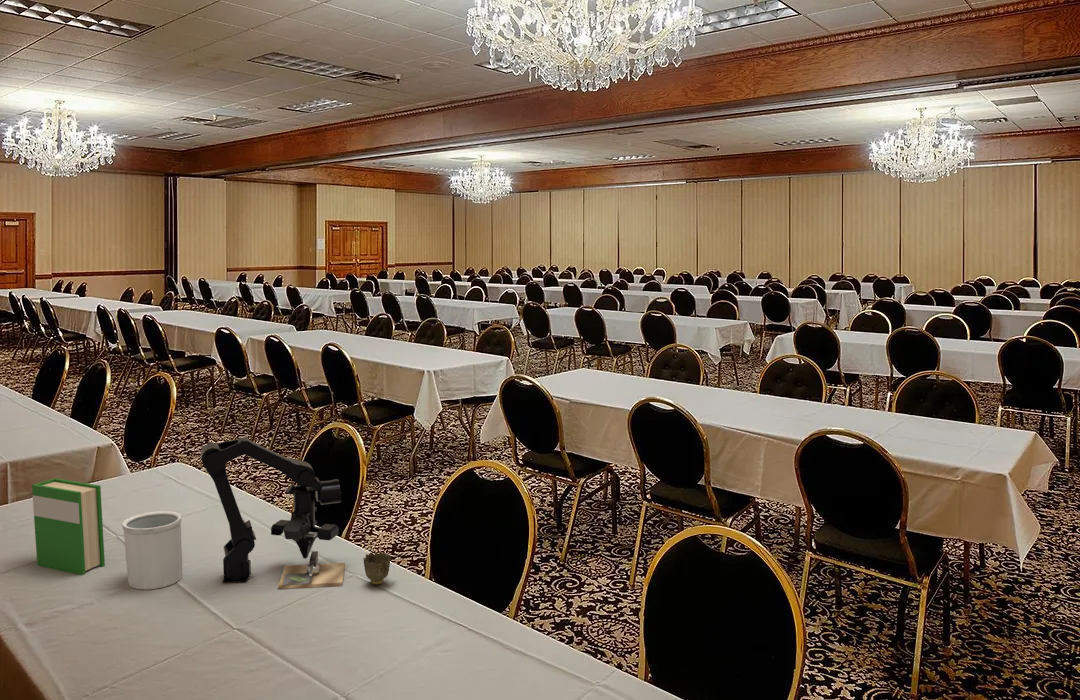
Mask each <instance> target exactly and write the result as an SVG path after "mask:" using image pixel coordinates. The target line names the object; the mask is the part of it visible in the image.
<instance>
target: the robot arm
mask: <svg viewBox="0 0 1080 700" xmlns="http://www.w3.org/2000/svg"><path fill="white" fill-rule="evenodd" d="M199 455H200V460H201V463H202V465H203V467H204V468H205V470H206V472H207V473H208V475H209V476H210V477H211V480H212V481H213V482H214V486H215V488H216V491H217V494H218V496H219V499H220V502H221V505H222V508H223V510H224V514H225V516H226V519H227V521H228V526H229V533H230V534H229V535H230V539H229V540H228V541H227V543H226V544H224V545H223V551H224V558H223V559H222V561H223V562H222V563H223V565H222V566H223V567H222V568H223V578H222V581H221V583H223V584H228V583H247V582H248V579H249V578H250V577H251V574H252V565H251V564H252V563H251V562H252V561H251V559H249V554H250V553H251V552H252V551H254V548H255V546H256V542H255V541H256V540H257V536H256V533H255V531H254V530H253V526H252V523H251V520H250V519H248V520H247V521H245V520H244V518H243V517H242V514H241V511H240V509H239V505H238V503H237V499H236V498H235V495H234V491H233V490H232V487H231V484H230V481H229V477H228V476H227V474H228V473H227V465H226V463H228V462H230V461H232V460H234V459H236V458H239V457H241V456H244V455H245V456H247V457H249V458H252V459H253V460H256V461H258V462H260V463H262V464H265V465H267V466H269V467H270V468H272V469H275V470H277V471H280V472H281V473H282V474H284V475H285V476H286V477H287V478H288V479H290V480H292V481H293V482H294V483H295V484H297V485H295V484H294V483H290V485H289V486H288V487H286V490H285V491H286V493H287V494H288V495H293V510H292V511H291V515H290V516H291V517H290V520H288V519H280V520H278V521H276V522H275V523H273V524H272V525H271V527H270V534H271V536H272V535H273V536H279V537H280V536H282V534H284V538H285V540H293V541H294V542H295V543H296V544H297V547H298V550H299V552H300V553H301V557H302V558H303V559H307V558H308V557H309V555H310V554H311V553H310V552H311V550H312V548H313V545H314V543H315V541H316V540H317V539H318V540H320V541H321V540H322V541H331V540H333V539H334V538H335V537H336V536H338V535H339V534H340V533H339V531H340V529H339V527H338V525H337V524H331V523H330V524H329V523H325V524H323V525H322V526H320V527H319V526H317V525H318V521H317V520H316V517H315V516H316V515H315V513H316V512H317V510H318V507H317V506H315V500H316V502H319V503H320V505H330V504H338V503H341V502H342V497H343V495H342V491H341V485H340V480H339V479H338V478H335V479H331V480H320V479H319V478H318V477H316V472H315V470H314V469H313V466H312V465H311V464H310V463H308V462H307V461H303V460H299V459H296V458H291V457H286V456H284V455H282V454H280V453H277V452H275V451H273V450H271V449H269V448H267V447H265V446H263V445H260V444H259V443H256V442H254V441H252V440H250V439H249V438H248V437H240V438H237V439H232V440H225V441H222V442H219V443H214V442H210V443H207V444H205V445H204V446H203V447H202V448H201V450H200V454H199Z"/></svg>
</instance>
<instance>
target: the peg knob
mask: <svg viewBox="0 0 1080 700" xmlns="http://www.w3.org/2000/svg"><path fill="white" fill-rule="evenodd" d="M310 552H311V553H310V557H309V559H308V560H309V564H306V565H307V566H306V573H307V574H309V576H312V575H314V574H318V573H319V564H320V563H319V551H318V550H317V551H316V550H314V551H310Z"/></svg>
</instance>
